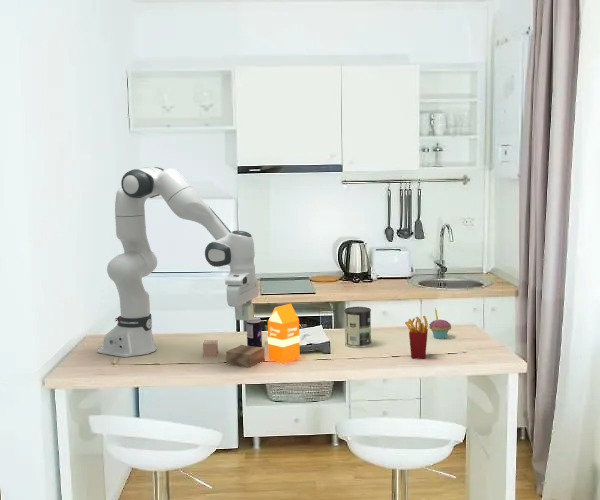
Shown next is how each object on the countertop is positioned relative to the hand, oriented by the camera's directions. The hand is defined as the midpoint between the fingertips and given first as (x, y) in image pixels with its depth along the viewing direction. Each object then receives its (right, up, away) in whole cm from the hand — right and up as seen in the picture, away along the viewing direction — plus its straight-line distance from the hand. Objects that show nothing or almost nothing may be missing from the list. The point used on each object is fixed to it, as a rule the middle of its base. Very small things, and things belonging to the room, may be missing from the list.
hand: (244, 314), depth 275 cm
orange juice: (+14, -17, +6) cm, 23 cm away
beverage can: (+3, -15, +21) cm, 26 cm away
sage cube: (0, -2, 0) cm, 2 cm away
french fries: (+63, -16, +6) cm, 65 cm away
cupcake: (+76, -12, +32) cm, 84 cm away
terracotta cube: (-14, -17, +14) cm, 26 cm away
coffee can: (+43, -14, +23) cm, 51 cm away
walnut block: (0, -18, +3) cm, 18 cm away
